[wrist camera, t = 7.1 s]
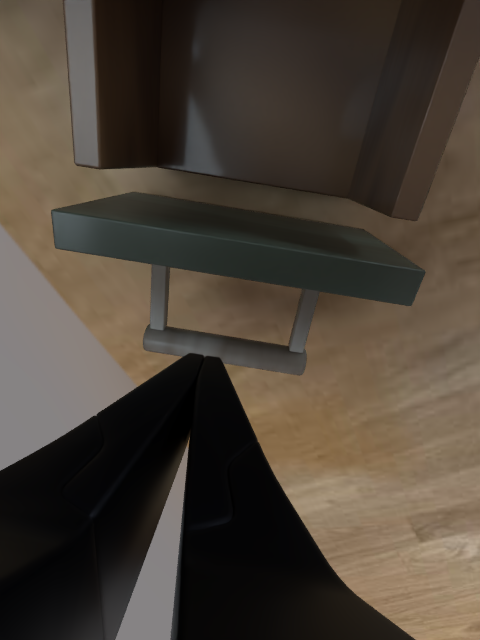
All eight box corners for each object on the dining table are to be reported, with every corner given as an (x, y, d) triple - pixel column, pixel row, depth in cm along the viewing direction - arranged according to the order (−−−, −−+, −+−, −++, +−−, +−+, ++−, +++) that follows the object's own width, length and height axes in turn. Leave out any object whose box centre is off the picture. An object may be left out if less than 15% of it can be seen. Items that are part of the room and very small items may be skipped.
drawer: (331, 335, 18) (364, 421, 12) (132, 303, 18) (67, 373, 12) (470, -113, 11) (733, -463, 5) (133, -169, 11) (-36, -595, 5)
